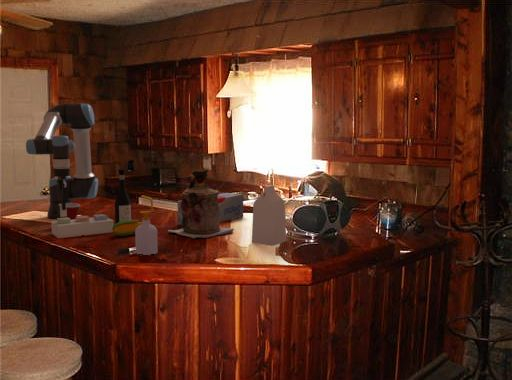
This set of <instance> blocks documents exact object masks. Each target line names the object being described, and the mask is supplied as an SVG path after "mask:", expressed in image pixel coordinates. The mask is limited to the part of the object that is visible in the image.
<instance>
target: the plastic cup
mask: <svg viewBox="0 0 512 380" xmlns="http://www.w3.org/2000/svg"><path fill="white" fill-rule="evenodd" d="M59 206H60V204H59ZM80 207H81V204H80V203H76V202H72V203H66V209H67V216H65V217H62V218H67V217H68V218H70V219H71V220H73V219H76V217H78V216H79V215H78V214H79V209H80Z"/></svg>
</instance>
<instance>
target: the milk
mask: <svg viewBox="0 0 512 380" xmlns="http://www.w3.org/2000/svg"><path fill="white" fill-rule="evenodd" d="M252 206H253V207H252V224H251V225H252V227H251V228H252V230H251V231H252V232H251V244H257V245H264V246H269V247H270V246H271V247H274V246H277V245H280V244H282V243H284V242H285V243H286V242H287V225H286V222H287V221H286V205H285V200H284V199H283V197H281V196H280V195H279V194H278V193H277V192H276V189H275V185H273V184H271V185H266V186H265V185H264V189H263V193H261V194H260V195H259V197H257V198H256V199H255V201H254V202H253V204H252Z"/></svg>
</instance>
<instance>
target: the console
mask: <svg viewBox="0 0 512 380" xmlns="http://www.w3.org/2000/svg"><path fill="white" fill-rule="evenodd" d="M114 221H115V219H114V220H113V219H111V218H109V217H107V220H99V221H96V220H94V217H89V221H85V222H76V219H73V220H71V223H68V224H58V223H57V220H53V221H51V222H50V223H51V224H50V225H51V234H52V235H53V236H54V237H55V238H57V239H64V238H73V237H81V236H82V235H84V236H91V235H100V234H110V233H113V229H112V228H113V226H114V225H115V223H114Z"/></svg>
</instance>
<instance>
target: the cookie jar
mask: <svg viewBox="0 0 512 380" xmlns="http://www.w3.org/2000/svg"><path fill="white" fill-rule="evenodd" d="M208 172H209V171H208V169H207V168H206V169H204V170H195V171H192V173H191V174H190V175H187V176H186V180H187V183H188V184H189V186H188V188H186V189H185V190H184V191H183V192H182V193H181V195H180V196H181V197H180V198H181V210H182V217H183V218H182V226H181V227H182V228H180V229H174V230H173V229H168V230H167V232H168V233H175V234H177V235H180V236H184V237H188V238H191V239H193V240H194V239H196V238H204V239H206V238H207V239H208V238H210V237H215V236H220V235H226V234H232V233H234V230H235V228H229V227H220V223H221V222H220V212H219V205H218V195H219V194H220V192H219V190H216V189H213V188H210V187H209V185H208V184H207V182H208V180H209V177H208Z"/></svg>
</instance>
